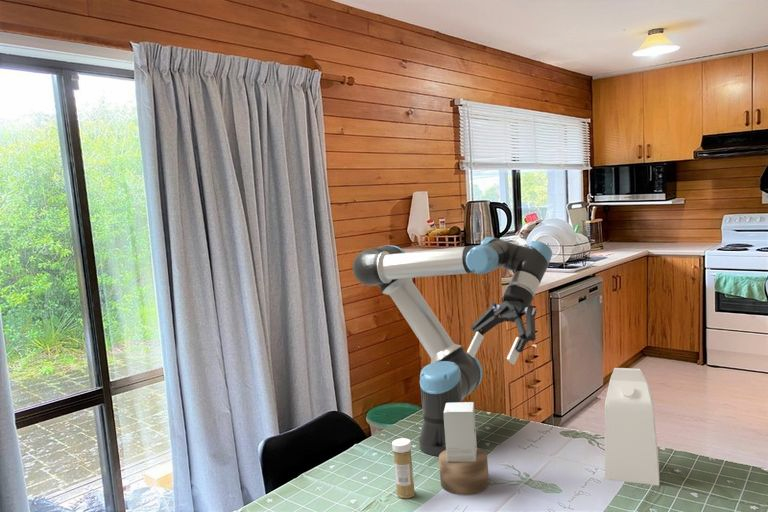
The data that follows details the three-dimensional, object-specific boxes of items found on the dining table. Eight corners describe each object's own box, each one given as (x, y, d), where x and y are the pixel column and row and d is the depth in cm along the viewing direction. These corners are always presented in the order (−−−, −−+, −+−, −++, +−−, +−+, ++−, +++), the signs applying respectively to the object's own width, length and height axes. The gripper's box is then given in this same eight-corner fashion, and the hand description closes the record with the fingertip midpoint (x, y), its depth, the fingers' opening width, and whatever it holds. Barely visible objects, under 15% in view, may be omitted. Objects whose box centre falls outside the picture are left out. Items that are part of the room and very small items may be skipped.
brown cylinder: (432, 480, 147) (429, 454, 146) (471, 468, 152) (469, 442, 152) (457, 500, 136) (455, 471, 136) (498, 486, 141) (497, 458, 141)
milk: (658, 464, 145) (654, 363, 143) (659, 485, 135) (654, 377, 133) (608, 459, 150) (602, 361, 148) (604, 479, 140) (599, 374, 138)
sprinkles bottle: (418, 491, 141) (413, 438, 140) (410, 500, 137) (405, 446, 136) (401, 488, 144) (397, 436, 143) (393, 497, 140) (388, 443, 139)
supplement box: (476, 462, 139) (473, 411, 138) (446, 462, 141) (442, 412, 140) (477, 449, 147) (474, 401, 146) (448, 449, 148) (445, 401, 147)
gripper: (566, 302, 151) (536, 372, 143) (493, 297, 170) (462, 359, 162) (552, 285, 147) (521, 357, 139) (479, 282, 166) (447, 344, 158)
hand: (489, 358), depth 150 cm, fingers open, 13 cm apart
